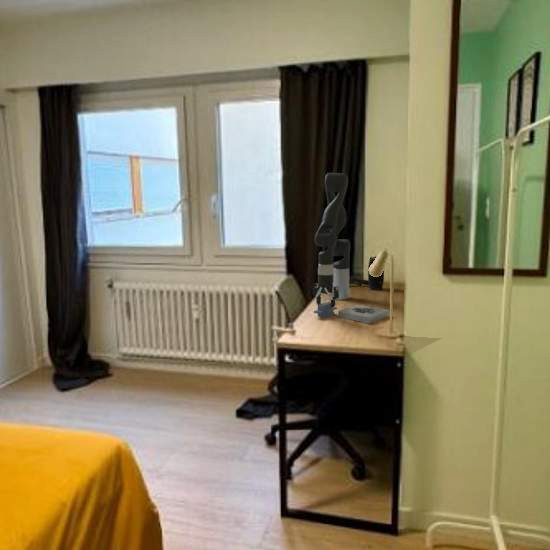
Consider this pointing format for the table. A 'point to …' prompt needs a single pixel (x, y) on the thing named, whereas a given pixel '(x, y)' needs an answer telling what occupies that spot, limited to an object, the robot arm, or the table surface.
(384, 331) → the table surface
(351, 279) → the adjustable wrench
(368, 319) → the chassis
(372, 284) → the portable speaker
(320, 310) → the servo
